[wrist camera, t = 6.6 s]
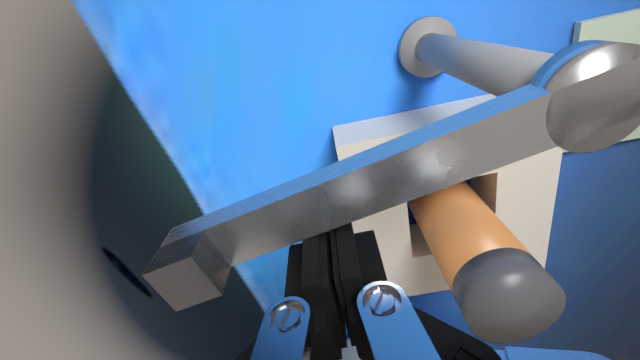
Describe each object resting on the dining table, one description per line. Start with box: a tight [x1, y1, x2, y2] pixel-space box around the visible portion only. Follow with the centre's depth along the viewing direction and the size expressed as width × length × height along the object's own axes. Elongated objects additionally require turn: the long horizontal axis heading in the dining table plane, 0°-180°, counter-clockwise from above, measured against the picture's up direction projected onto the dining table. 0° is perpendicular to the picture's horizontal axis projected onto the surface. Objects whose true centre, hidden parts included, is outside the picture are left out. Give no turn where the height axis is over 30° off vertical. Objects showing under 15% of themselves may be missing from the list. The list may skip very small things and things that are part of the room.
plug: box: [407, 181, 566, 343], centre depth 21 cm, size 5×5×12 cm
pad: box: [562, 8, 640, 153], centre depth 22 cm, size 9×9×1 cm
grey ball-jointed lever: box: [142, 40, 640, 311], centre depth 9 cm, size 14×3×2 cm, turn 114°
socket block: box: [332, 17, 563, 297], centre depth 19 cm, size 14×20×13 cm
